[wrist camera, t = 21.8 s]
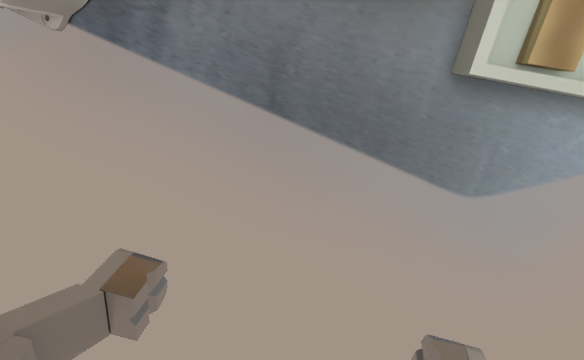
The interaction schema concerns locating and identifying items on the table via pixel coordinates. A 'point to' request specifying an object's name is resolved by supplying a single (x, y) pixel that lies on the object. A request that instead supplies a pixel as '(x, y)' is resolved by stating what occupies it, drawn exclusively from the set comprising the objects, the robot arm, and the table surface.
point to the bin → (509, 49)
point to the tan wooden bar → (555, 36)
